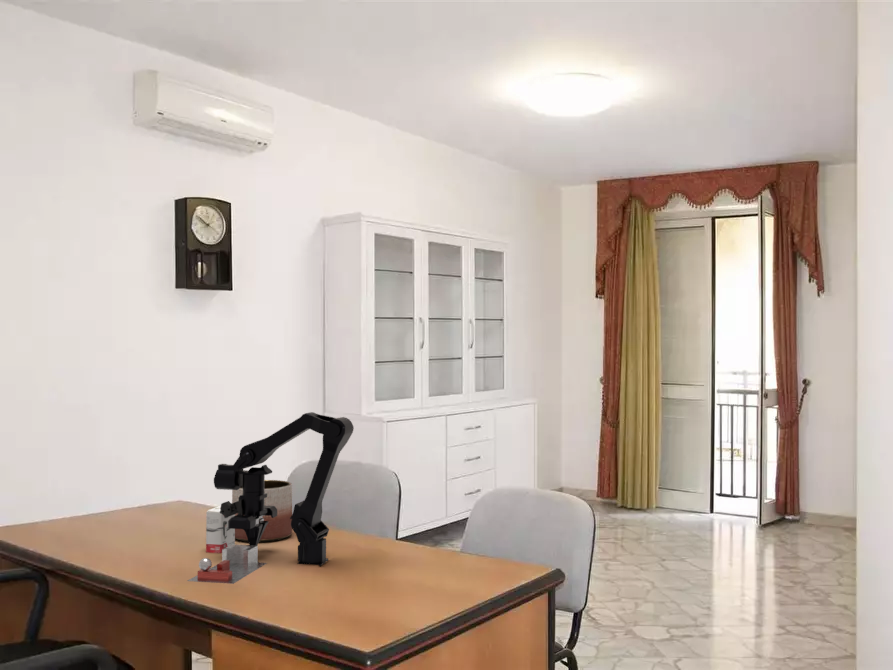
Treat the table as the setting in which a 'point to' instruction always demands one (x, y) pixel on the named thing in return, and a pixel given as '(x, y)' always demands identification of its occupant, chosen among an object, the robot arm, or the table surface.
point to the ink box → (218, 531)
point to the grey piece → (222, 572)
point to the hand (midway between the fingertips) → (253, 549)
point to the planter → (282, 500)
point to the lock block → (241, 555)
